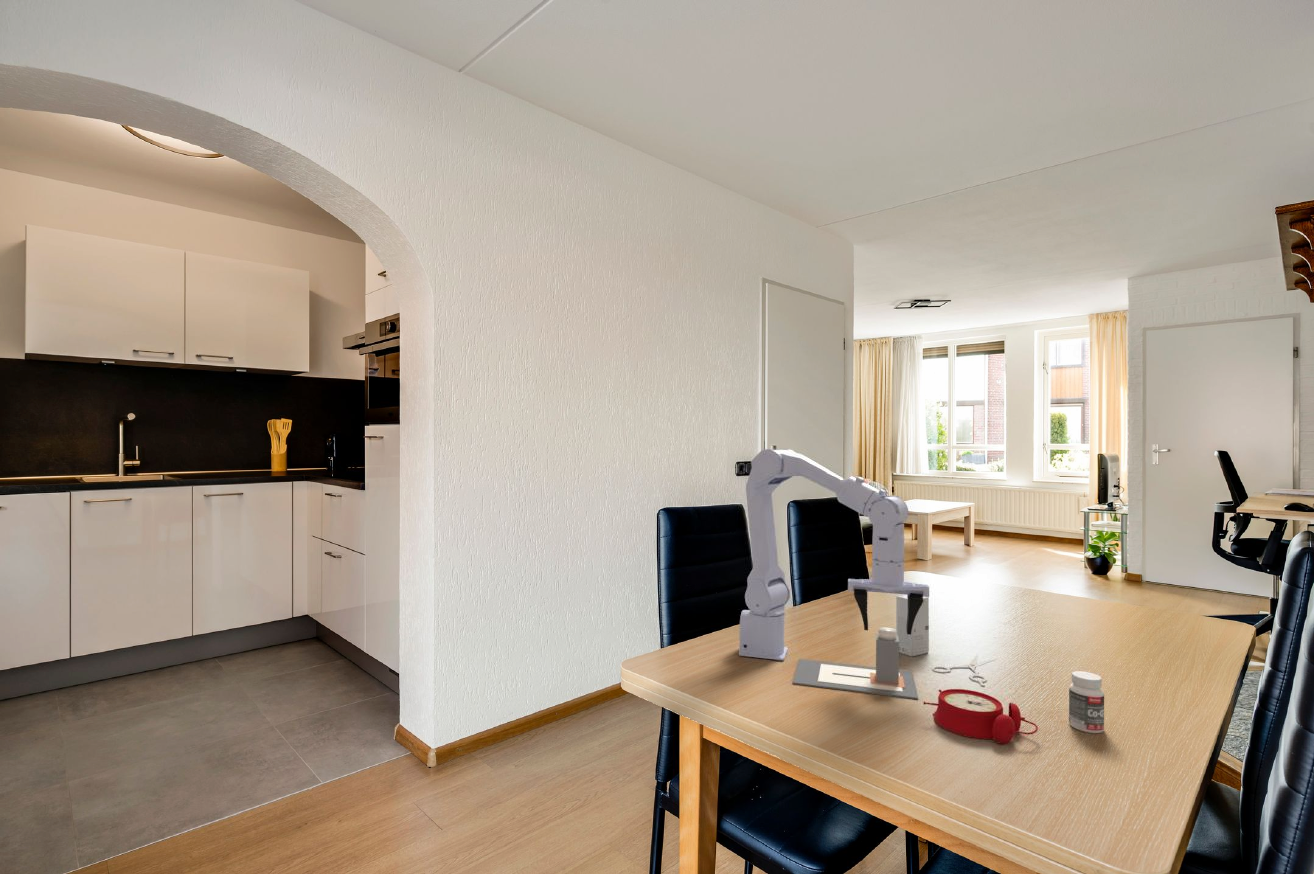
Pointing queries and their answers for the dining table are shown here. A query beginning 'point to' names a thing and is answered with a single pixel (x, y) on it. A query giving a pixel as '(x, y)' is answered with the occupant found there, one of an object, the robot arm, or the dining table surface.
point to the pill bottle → (1086, 702)
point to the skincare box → (920, 630)
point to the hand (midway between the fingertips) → (887, 631)
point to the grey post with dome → (887, 656)
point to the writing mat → (852, 678)
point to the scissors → (971, 666)
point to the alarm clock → (977, 715)
